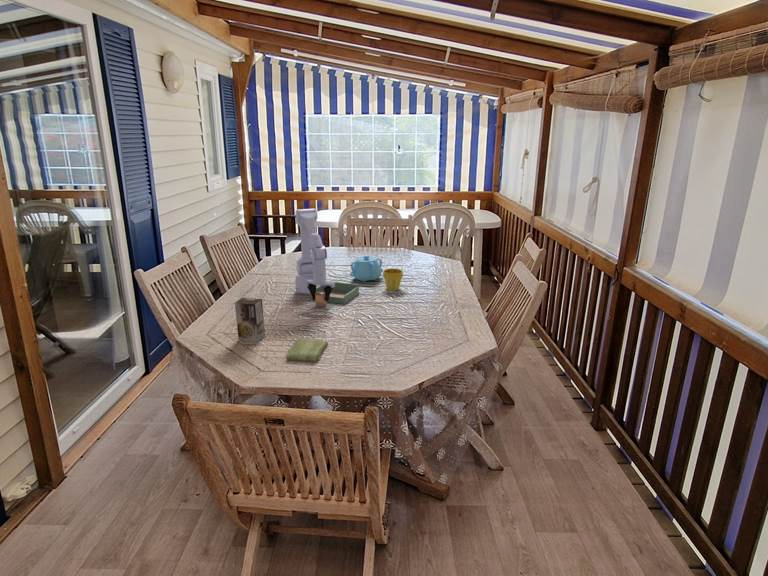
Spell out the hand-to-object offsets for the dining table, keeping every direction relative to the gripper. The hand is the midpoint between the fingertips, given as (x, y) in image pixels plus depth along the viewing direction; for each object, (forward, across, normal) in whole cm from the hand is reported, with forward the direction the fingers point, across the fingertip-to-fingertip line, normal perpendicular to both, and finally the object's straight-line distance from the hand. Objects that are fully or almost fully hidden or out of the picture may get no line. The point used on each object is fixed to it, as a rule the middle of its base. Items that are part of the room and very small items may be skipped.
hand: (320, 300), depth 240 cm
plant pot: (+3, +23, +38) cm, 45 cm away
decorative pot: (+3, +3, +50) cm, 50 cm away
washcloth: (+4, +19, -48) cm, 52 cm away
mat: (+3, 0, 0) cm, 3 cm away
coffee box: (+3, -8, -44) cm, 45 cm away
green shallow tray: (+3, 0, +15) cm, 15 cm away
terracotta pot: (+3, 0, 0) cm, 3 cm away
